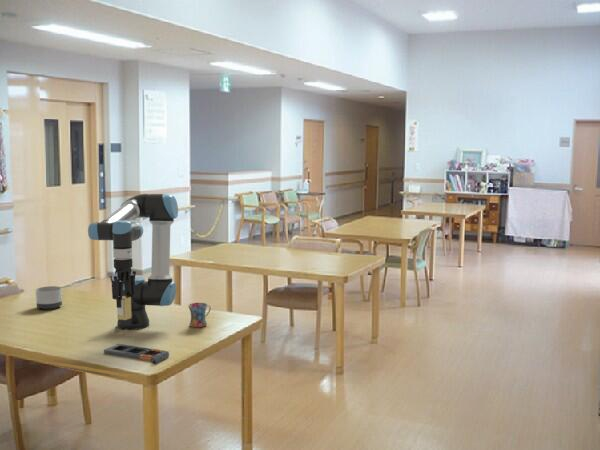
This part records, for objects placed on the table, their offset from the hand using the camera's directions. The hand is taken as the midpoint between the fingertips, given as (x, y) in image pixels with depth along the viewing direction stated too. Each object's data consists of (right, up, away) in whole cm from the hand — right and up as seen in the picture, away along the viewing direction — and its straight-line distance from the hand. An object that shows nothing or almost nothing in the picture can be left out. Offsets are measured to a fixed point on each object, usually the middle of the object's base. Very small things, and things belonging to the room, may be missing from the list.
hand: (124, 313), depth 262 cm
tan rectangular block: (0, -2, 0) cm, 2 cm away
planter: (-63, -8, +80) cm, 102 cm away
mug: (+24, -13, +47) cm, 54 cm away
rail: (+5, -18, +1) cm, 19 cm away
